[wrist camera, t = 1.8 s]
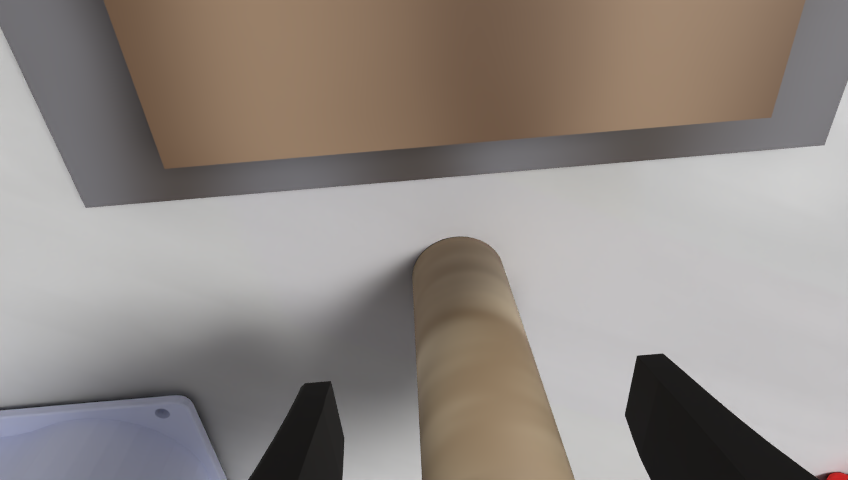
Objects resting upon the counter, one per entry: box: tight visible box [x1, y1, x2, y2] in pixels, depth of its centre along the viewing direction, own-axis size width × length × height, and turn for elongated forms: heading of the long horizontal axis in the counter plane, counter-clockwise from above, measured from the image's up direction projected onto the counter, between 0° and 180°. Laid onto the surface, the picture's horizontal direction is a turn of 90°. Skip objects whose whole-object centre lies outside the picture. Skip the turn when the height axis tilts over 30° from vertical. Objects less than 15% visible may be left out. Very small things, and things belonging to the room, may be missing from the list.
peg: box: [412, 237, 575, 480], centre depth 13 cm, size 3×3×8 cm
